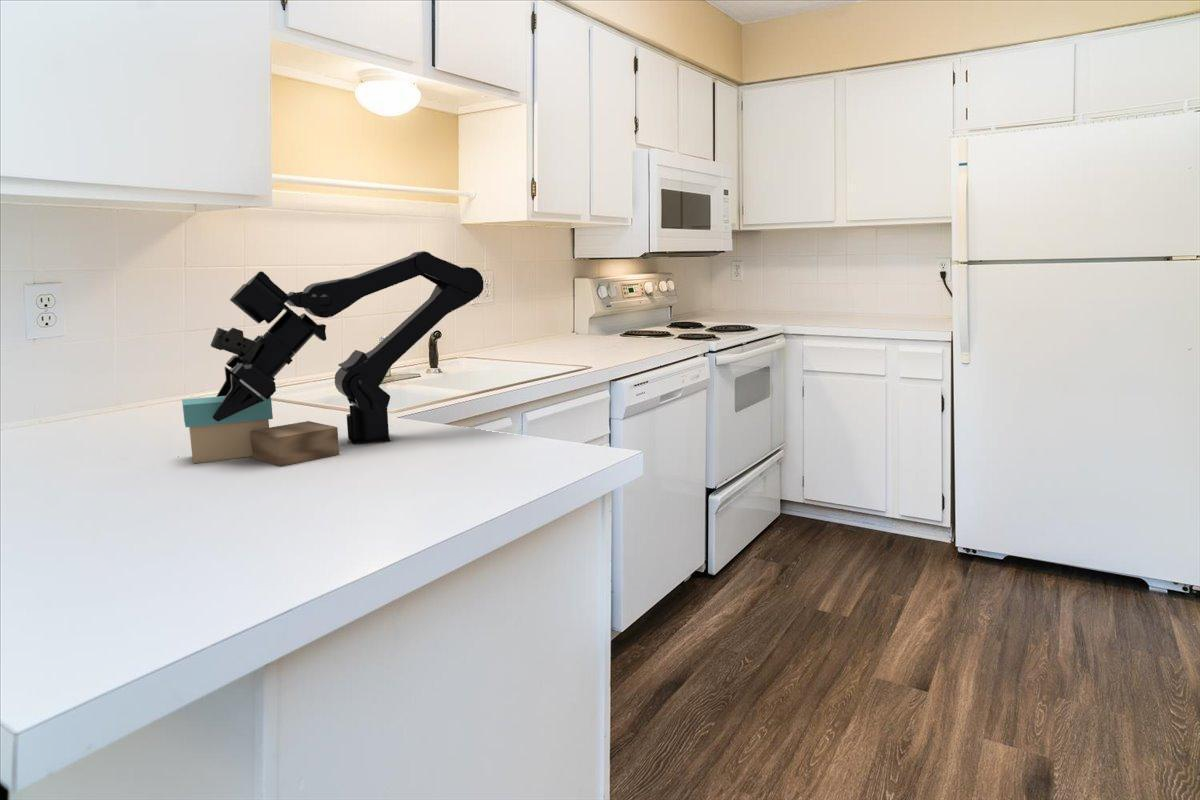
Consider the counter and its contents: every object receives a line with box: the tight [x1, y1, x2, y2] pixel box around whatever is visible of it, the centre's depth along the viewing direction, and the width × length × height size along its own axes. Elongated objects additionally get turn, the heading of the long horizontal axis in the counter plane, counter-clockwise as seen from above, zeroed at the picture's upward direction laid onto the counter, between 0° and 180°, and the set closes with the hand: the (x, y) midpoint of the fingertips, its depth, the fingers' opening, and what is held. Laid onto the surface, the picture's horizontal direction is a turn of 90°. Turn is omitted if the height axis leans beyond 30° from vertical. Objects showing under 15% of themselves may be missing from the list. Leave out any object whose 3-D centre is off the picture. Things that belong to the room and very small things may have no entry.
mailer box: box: [188, 419, 270, 464], centre depth 128 cm, size 11×5×9 cm, turn 119°
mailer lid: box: [181, 395, 274, 428], centre depth 127 cm, size 13×7×4 cm, turn 119°
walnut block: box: [250, 420, 340, 467], centre depth 127 cm, size 10×9×4 cm
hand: (213, 415), depth 126 cm, fingers open, 9 cm apart
